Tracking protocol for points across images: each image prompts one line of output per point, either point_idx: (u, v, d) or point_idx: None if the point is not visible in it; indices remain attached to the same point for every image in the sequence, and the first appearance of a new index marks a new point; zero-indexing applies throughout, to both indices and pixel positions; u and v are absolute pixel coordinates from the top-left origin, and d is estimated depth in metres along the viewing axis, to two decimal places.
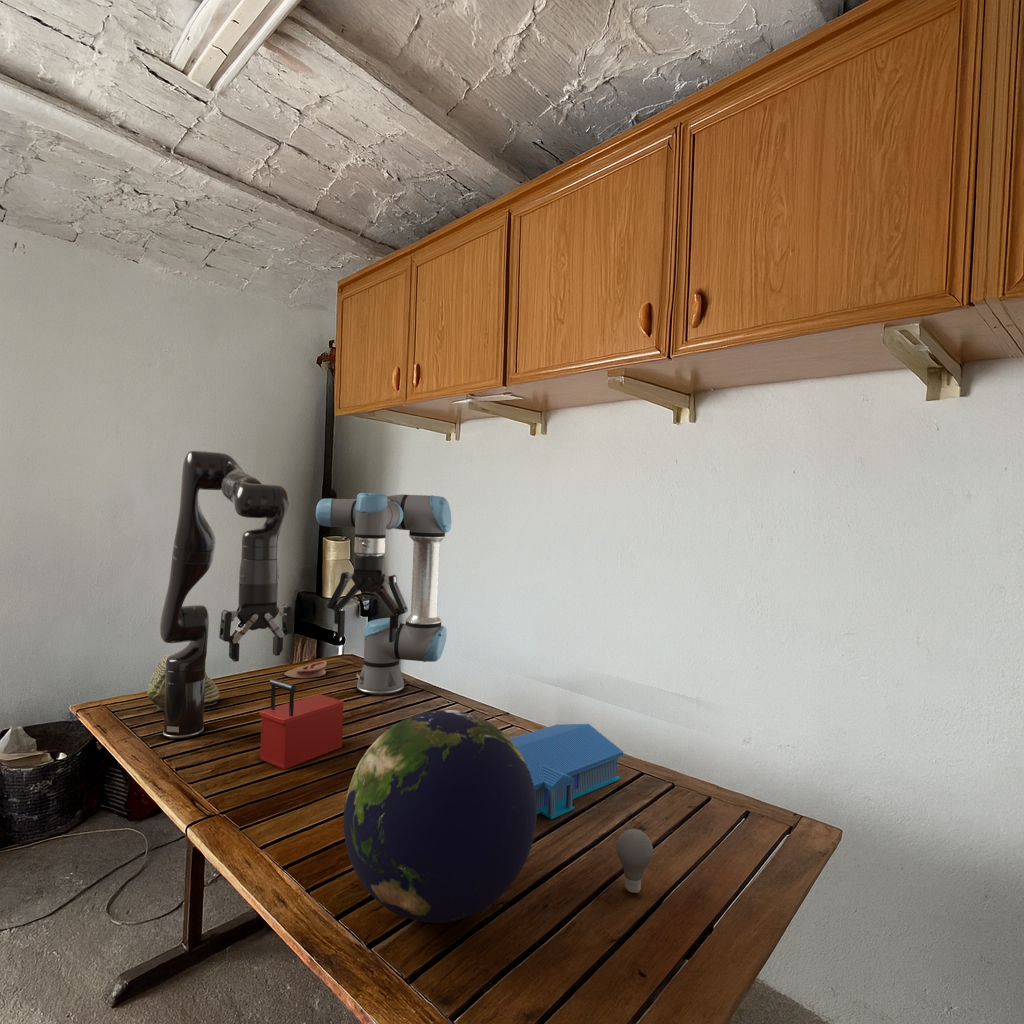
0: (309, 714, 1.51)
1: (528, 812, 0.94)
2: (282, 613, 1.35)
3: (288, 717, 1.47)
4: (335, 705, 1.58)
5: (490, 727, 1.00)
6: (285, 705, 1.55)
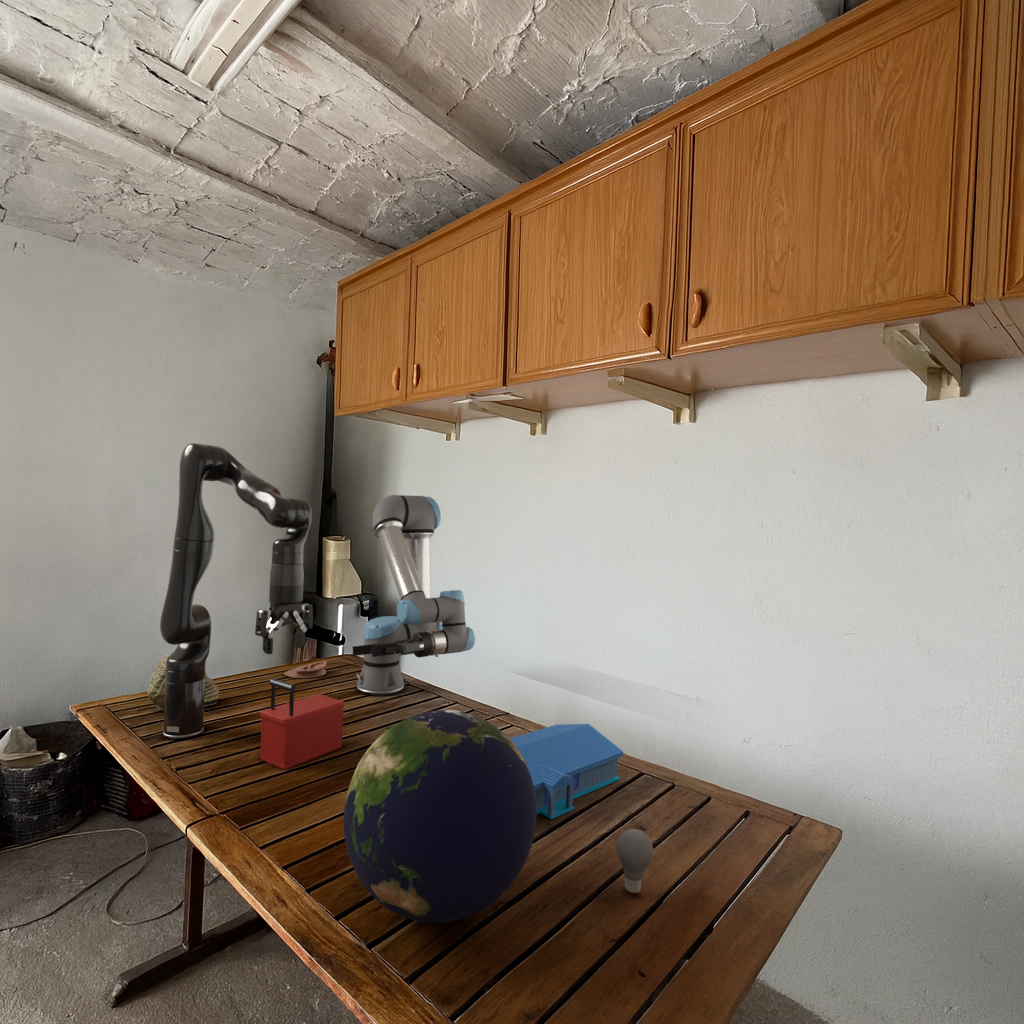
0: (309, 714, 1.51)
1: (528, 812, 0.94)
2: None
3: (288, 717, 1.47)
4: (335, 705, 1.58)
5: (490, 727, 1.00)
6: (285, 705, 1.55)
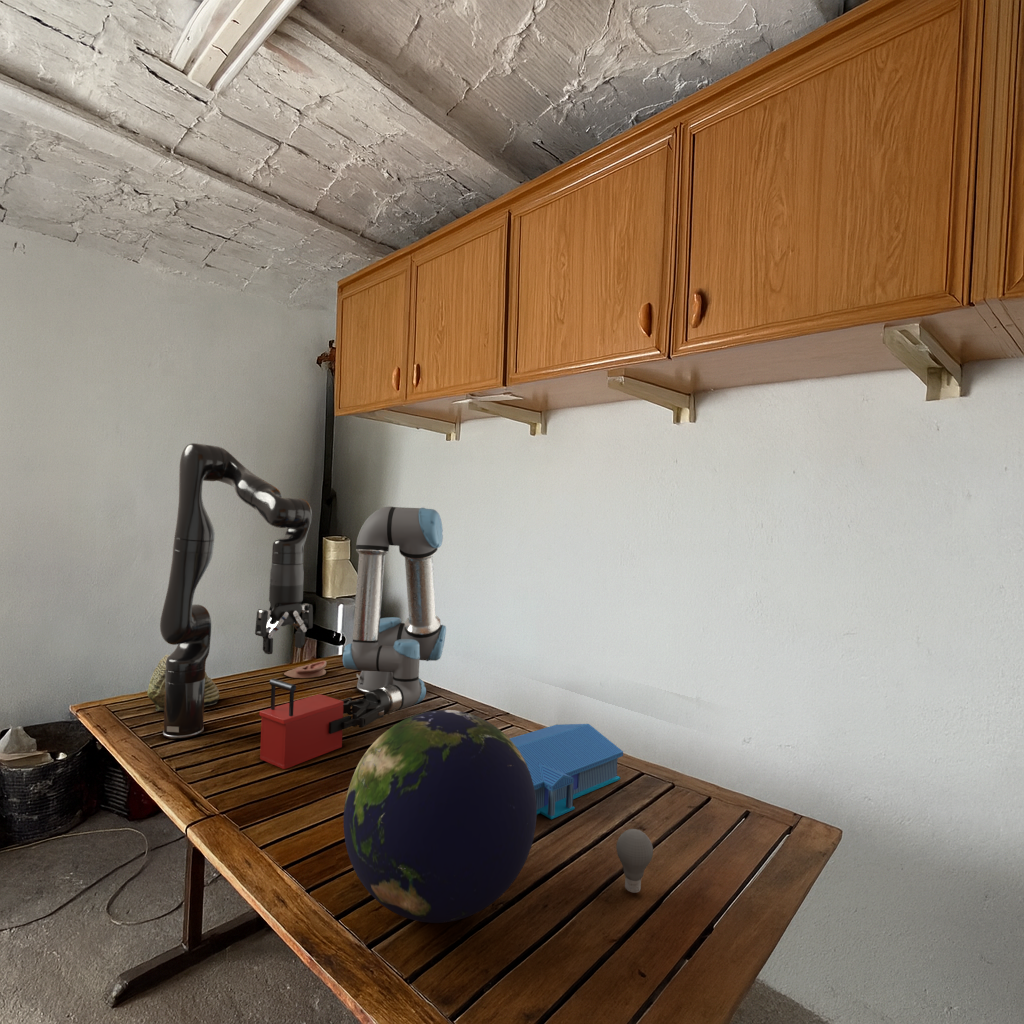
0: (309, 714, 1.51)
1: (528, 812, 0.94)
2: None
3: (288, 717, 1.47)
4: (335, 705, 1.58)
5: (490, 727, 1.00)
6: (285, 705, 1.55)
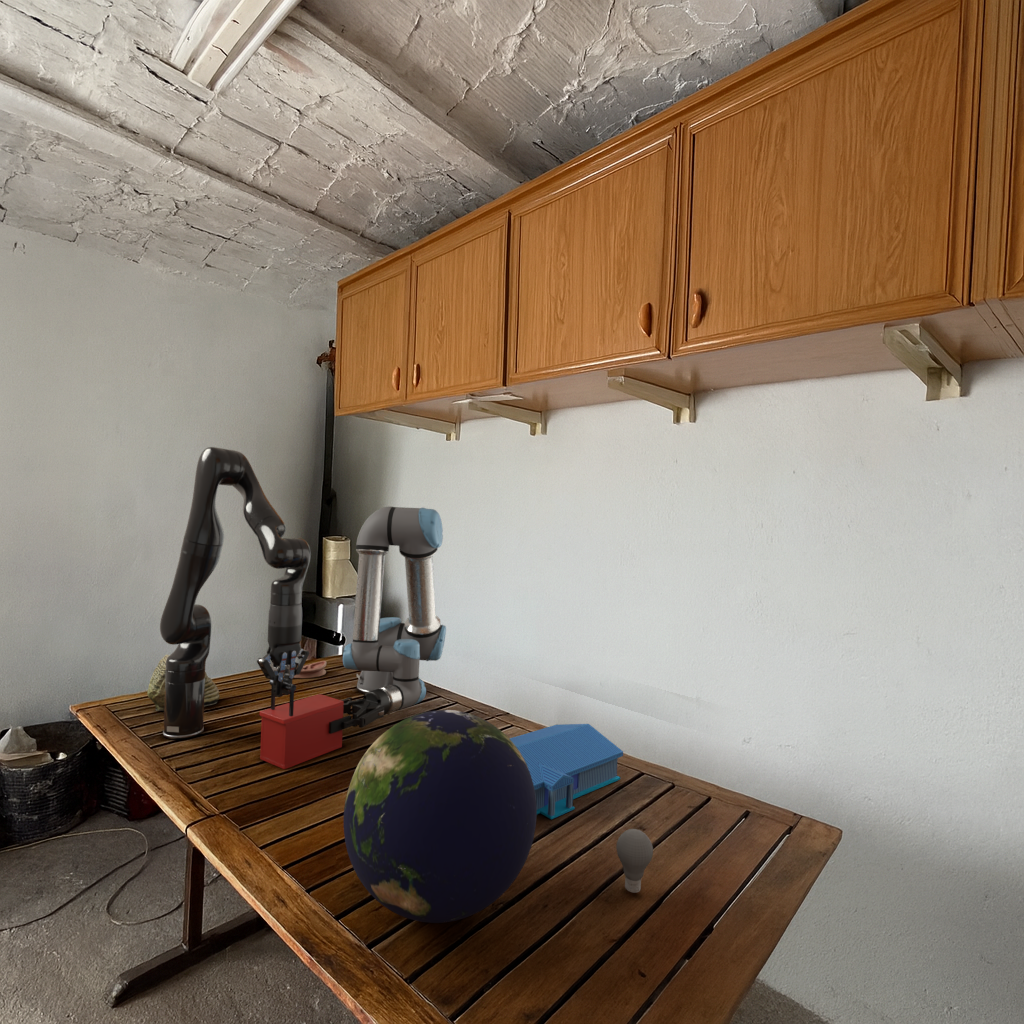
0: (309, 714, 1.51)
1: (528, 812, 0.94)
2: None
3: (289, 717, 1.47)
4: (335, 705, 1.58)
5: (490, 727, 1.00)
6: (285, 705, 1.55)
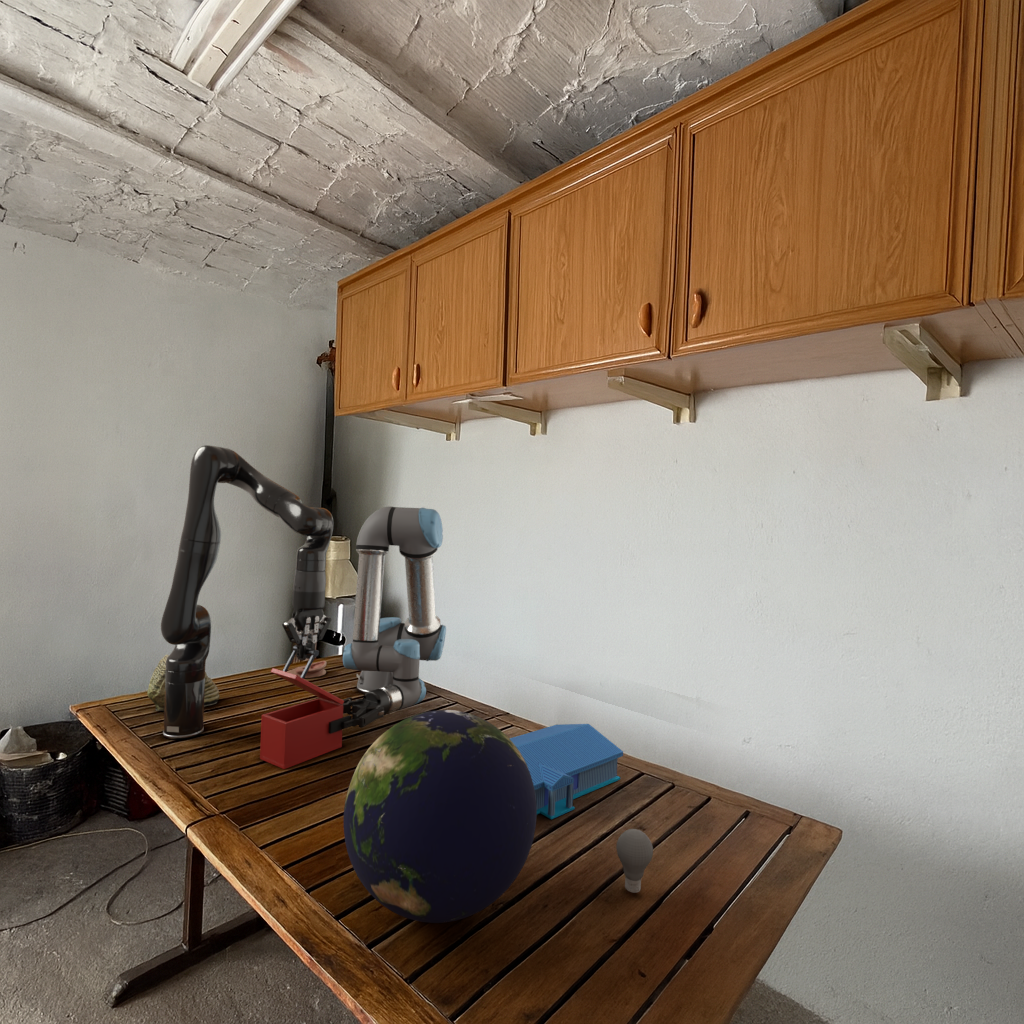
0: (315, 688, 1.53)
1: (528, 812, 0.94)
2: None
3: (300, 677, 1.49)
4: (337, 699, 1.58)
5: (490, 727, 1.00)
6: None
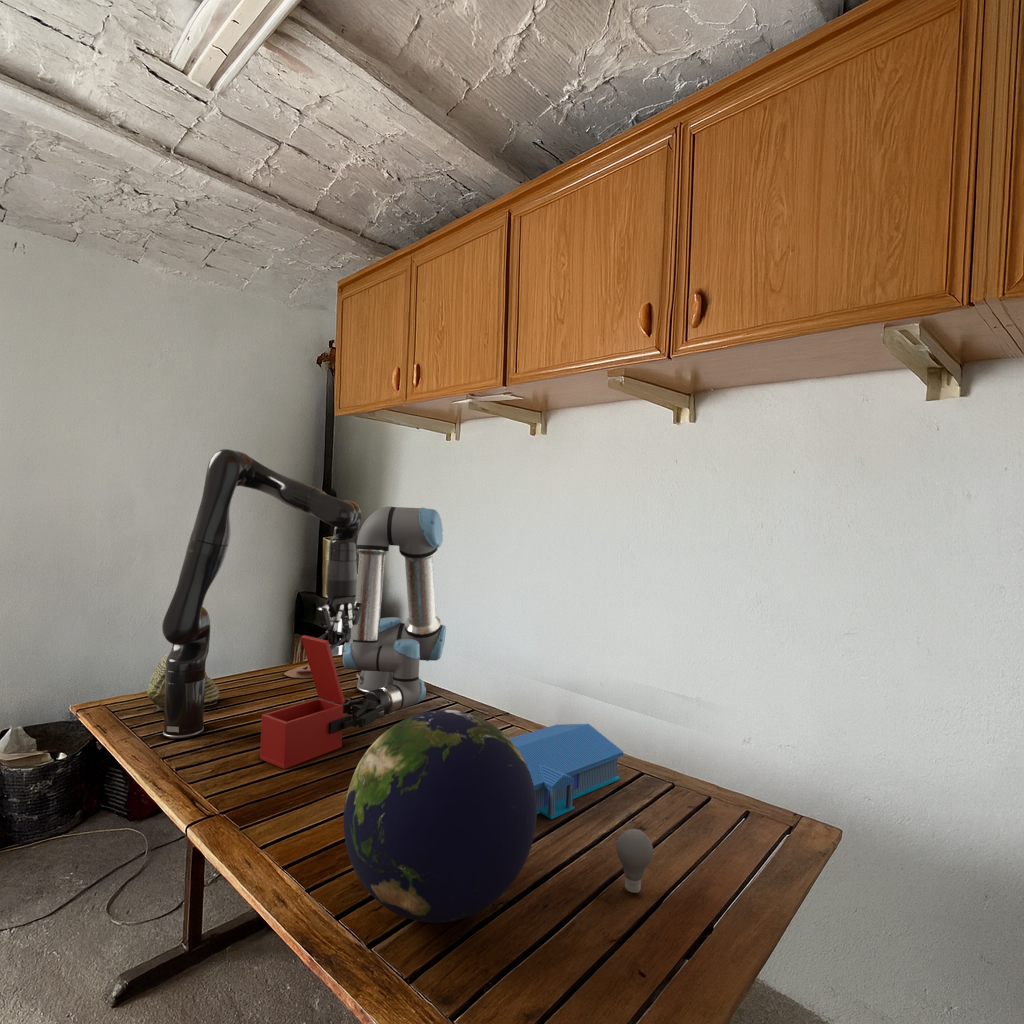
0: (333, 667, 1.57)
1: (528, 812, 0.94)
2: None
3: None
4: (341, 694, 1.59)
5: (490, 727, 1.00)
6: None
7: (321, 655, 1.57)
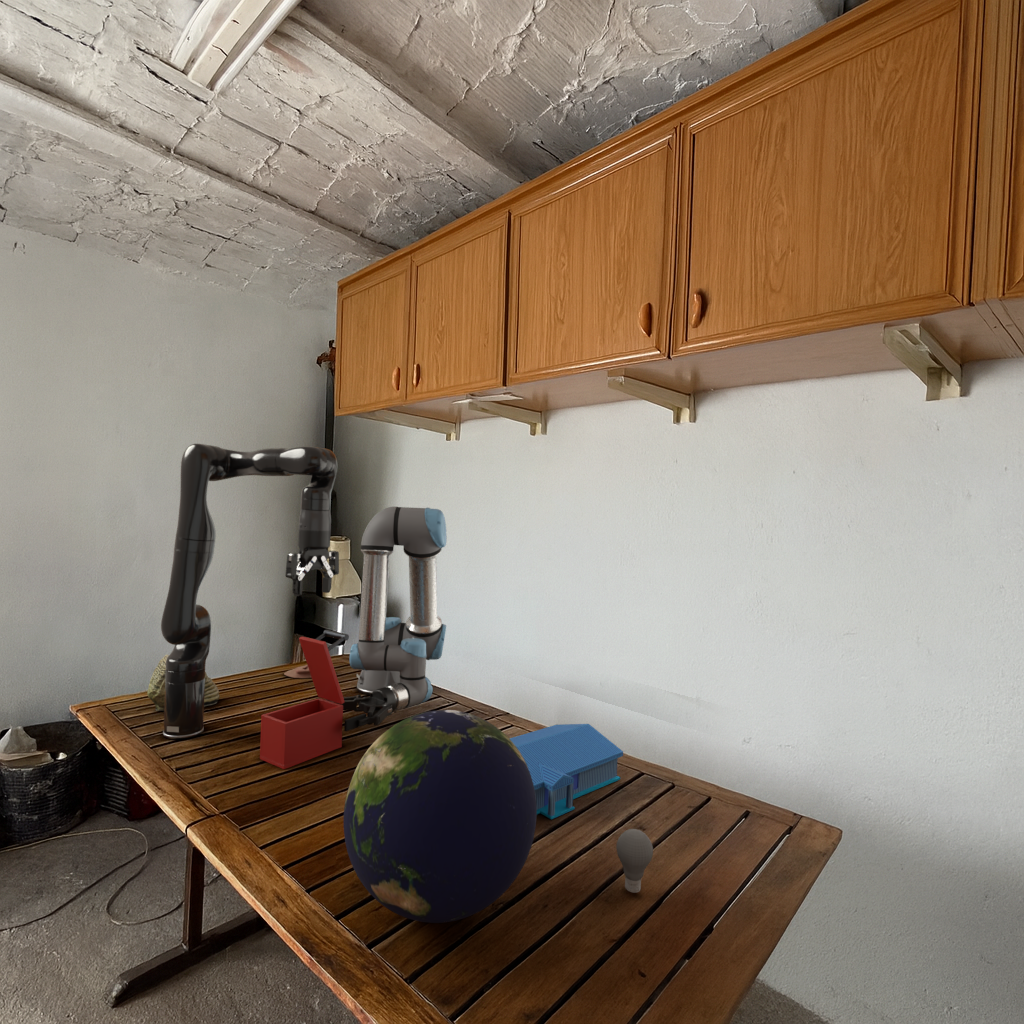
0: (331, 668, 1.57)
1: (528, 812, 0.94)
2: None
3: None
4: (340, 694, 1.59)
5: (490, 727, 1.00)
6: None
7: (319, 656, 1.57)
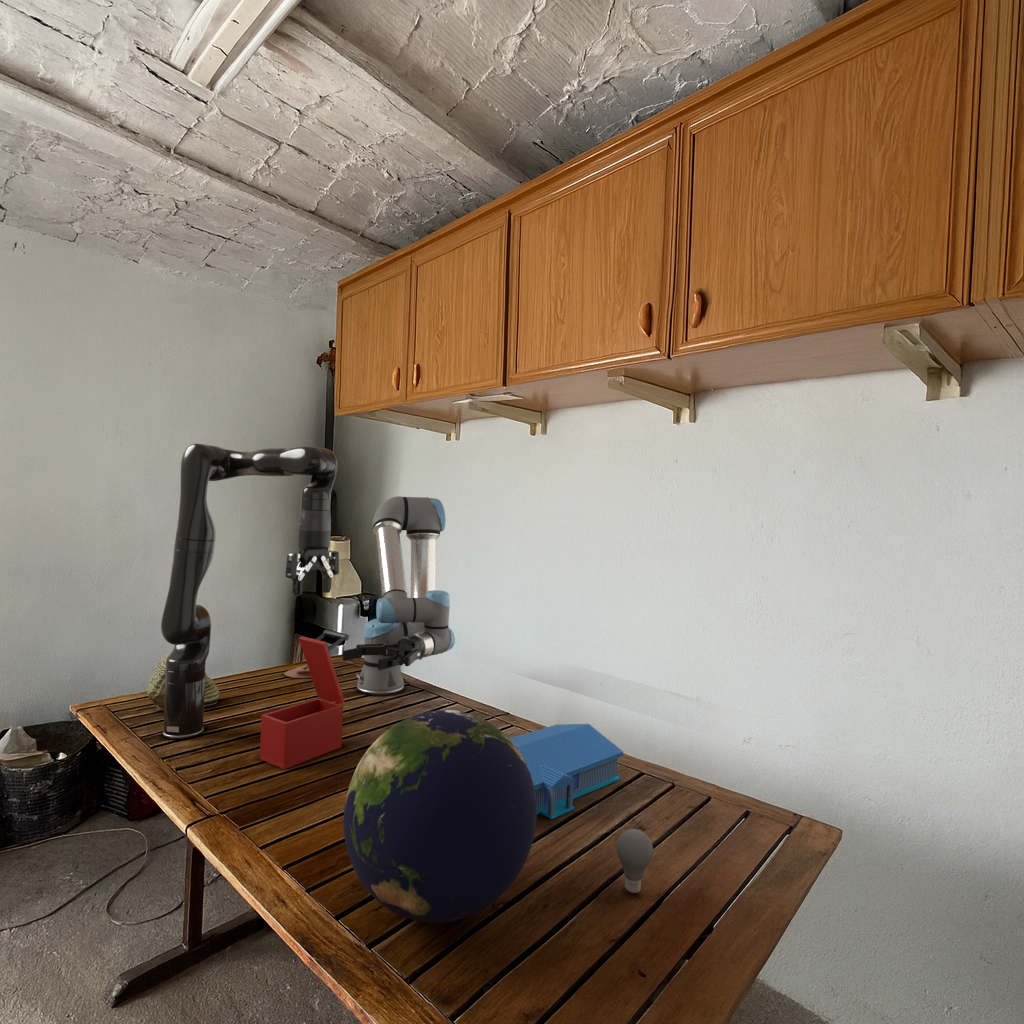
0: (331, 668, 1.57)
1: (528, 812, 0.94)
2: None
3: None
4: (340, 694, 1.59)
5: (490, 727, 1.00)
6: None
7: (319, 656, 1.57)
